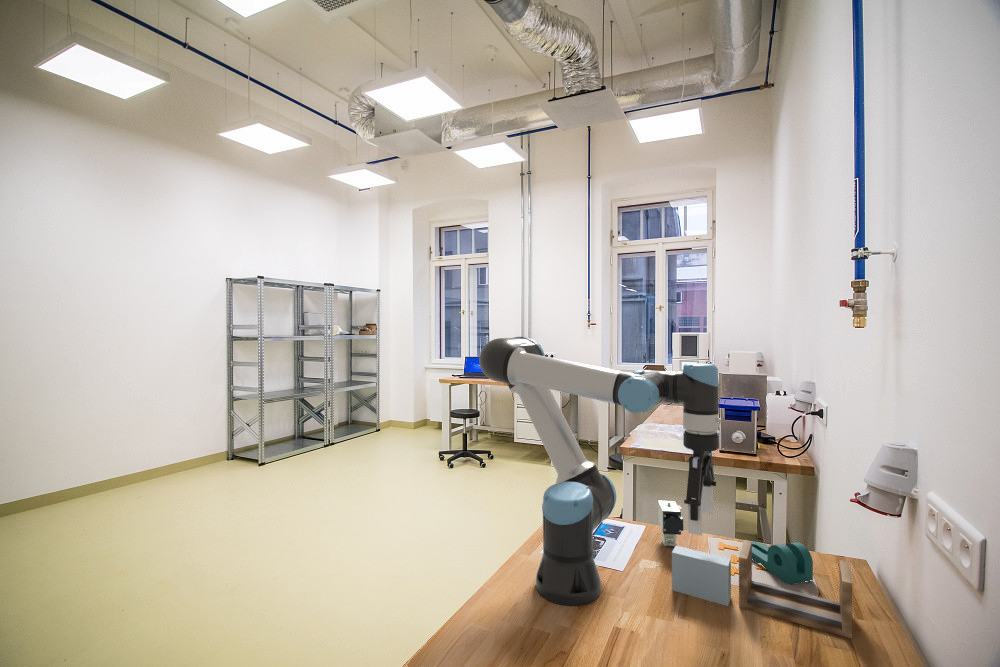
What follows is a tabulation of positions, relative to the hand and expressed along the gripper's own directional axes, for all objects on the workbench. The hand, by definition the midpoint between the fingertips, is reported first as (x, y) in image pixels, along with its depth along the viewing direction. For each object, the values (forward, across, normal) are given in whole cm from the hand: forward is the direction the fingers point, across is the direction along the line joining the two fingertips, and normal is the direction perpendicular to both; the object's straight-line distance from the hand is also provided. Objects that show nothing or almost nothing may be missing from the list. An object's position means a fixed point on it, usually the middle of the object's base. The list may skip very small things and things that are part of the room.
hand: (701, 522), depth 109 cm
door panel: (+16, 0, 0) cm, 17 cm away
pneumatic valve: (+17, +22, +12) cm, 30 cm away
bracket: (+17, +24, -13) cm, 32 cm away
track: (+16, +4, -18) cm, 25 cm away
